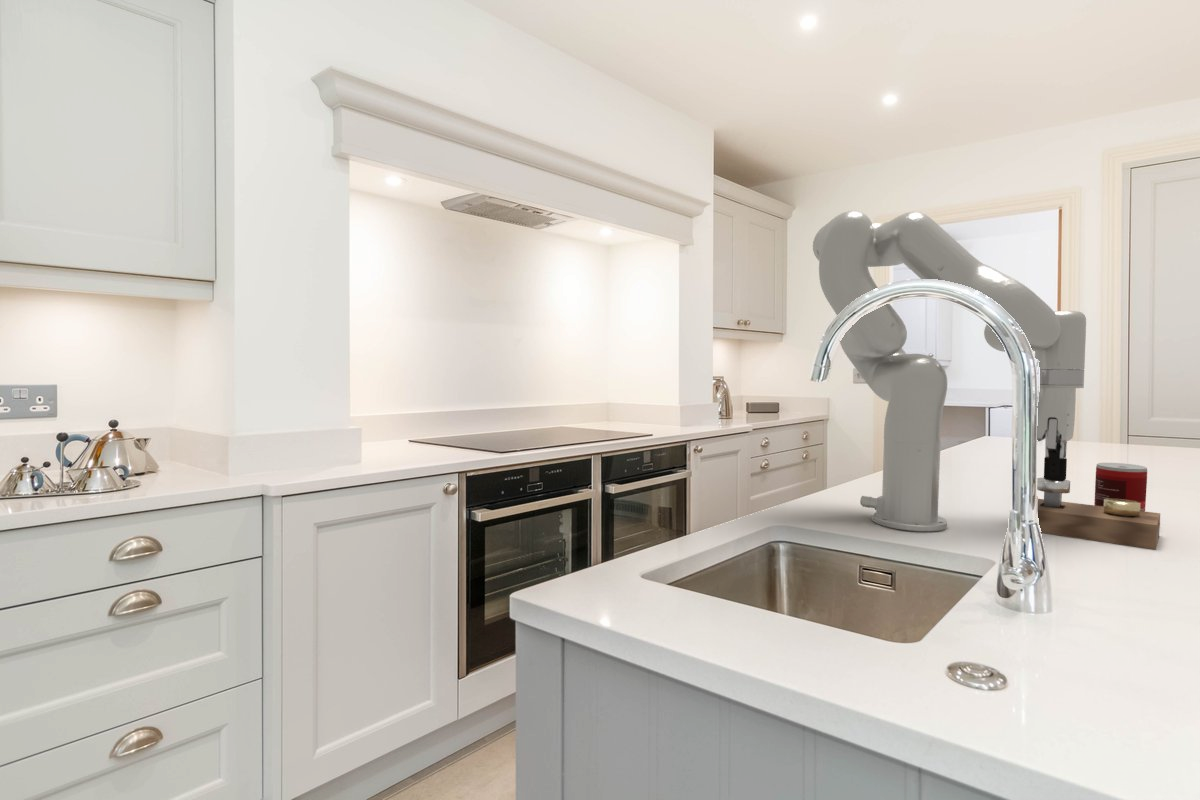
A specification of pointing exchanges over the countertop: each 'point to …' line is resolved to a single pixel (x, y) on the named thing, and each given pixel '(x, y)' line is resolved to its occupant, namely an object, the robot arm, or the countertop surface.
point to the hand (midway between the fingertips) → (1054, 479)
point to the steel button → (1053, 491)
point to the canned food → (1120, 483)
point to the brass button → (1121, 507)
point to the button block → (1099, 524)
